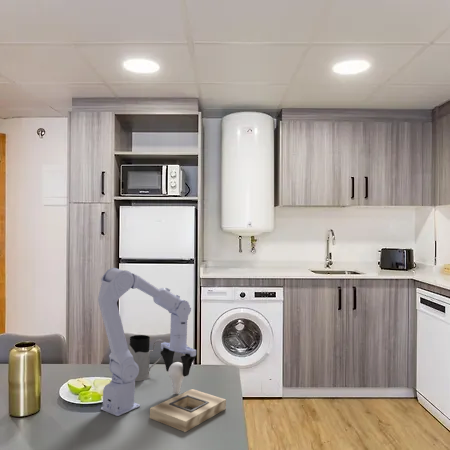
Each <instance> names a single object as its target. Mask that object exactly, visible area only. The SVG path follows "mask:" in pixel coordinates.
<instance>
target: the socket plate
mask: <svg viewBox="0 0 450 450" xmlns="http://www.w3.org/2000/svg"><path fill="white" fill-rule="evenodd" d="M226 406H227V399H225V398H223V397H220V396H215V395H213V394H210V393H207V392H203V391H200V390H197V389H193V388H192V389H188V390H187V391H185V392H183V393H179V394H177V395H176V396H173V397H172V398H169V399H167V400H165V401H163V402H161V403H158V404H156V405H154V406H152V407H150V408H149V419H150V420H153V421H156V422H158V423H161V424H164V425H166V426H168V427H172V428H174V429H175V430H176V429H177V430H179V431H182V432H184V433H186V432H188V431H190V430H192V429H194V428H195V427H197V426H198V425H200V424H202V423H204V422H205V421H207V420H209V419H211V418H212V417H214V416H216V415H218V414H219V413H221V412H223V411H225V410H226ZM187 407H188V408H187ZM189 408H192V409H189Z"/></svg>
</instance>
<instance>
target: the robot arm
mask: <svg viewBox="0 0 450 450" xmlns="http://www.w3.org/2000/svg"><path fill="white" fill-rule="evenodd" d="M100 282H101V285H100V289H99V293H98V297H97V302H98V305H99V310H100V313H101V317H102V322H103V325H104V329H105V334H106V337H107V340H108V345H109V348H110V353H109V355H108V356H109V365H108V368H109V371H110V373H111V374H112V376H111V381H110V382H109V383H107V384H106V385H105V386H104V387H103V390H102V406H101V408H100V410H102V411H104V412H106V413H108V414H111V415H113V416H116V417H119V416H122V415H124V414H126V413H128V412H130V411H133V410H135V409H137V408H140V407H141V404H139V403H136V402H135V396H136V395H135V392H136V391H135V389H136V388H135V387H136V381H135V379H136V377H137V376H138V373H139V367H138V365H137V363H135V361H134V359H133V356H132V354H131V353H130V351H129V345H128V342H127V339H126V335H125V331H124V327H123V323H122V318H121V315H120V311H119V307H118V306H119V305H118V301H119V300H120V298H121V297H122V296H123V295H125V293H127V292H128V291H129V290H130V289H136V290H139V291H140V292H143V293H145V294H146V295H149V297H152V299H153V303H154V304H156V305H158V306H159V307H161V308H163V309H164V310H166V311H168V313H169V314H170V334H169V335H170V336H169V337H170V339H169V342H166V341H164V343H163V342H161V343H160V349H161V351H160V355H162V359H163V362H164V365H165V370H166V372H167V373H168V370H169V367H170V366H171V365H172V364H173V363H174V357H175V353H178V354H184V355H182V356H180V360H181V363H182V364H183V376H184V378H185V377H188V376H189V374H190V371H191V367H192V365H193V362H194V360H195V359H196V356H197V349H194V348H192V347H190V346H188V343H187V340H188V336H187V335H188V320H189V315H190V313H191V312H192V307H191V305H190V303H189V301H187V300H184V299H182V298H180V297H181V296H180V295H179V294H174V293H172V292H171V289H170V288H167V287H165V288H164V287H160V288H157V287H156V286H154V285H153V284H151V283H150V282H149V281H147V280H146V279H144V278H143V277H141V276H140V275H138V274H135V273H132V272H131V271H130V270H123V269H119V268H117V267H110V268H109V269H107V270H106V271H105V272H104V274H103V275H102V277H101V278H100Z"/></svg>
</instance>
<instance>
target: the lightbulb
mask: <svg viewBox="0 0 450 450" xmlns="http://www.w3.org/2000/svg"><path fill="white" fill-rule="evenodd" d="M167 373H168V376H169V378H170V380H171V386H172V393H173V394H174V395H176V396H178V395H180V394H181V387H182V383H183V381H184V379H185V377H184V376H183V364H182V362H180V361H176V362H173V364H172V365H171V366H170V367H169V370H168V372H167Z"/></svg>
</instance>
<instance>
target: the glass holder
mask: <svg viewBox="0 0 450 450" xmlns="http://www.w3.org/2000/svg"><path fill="white" fill-rule="evenodd" d="M150 339H151V336H149V335H145V334H135V335H132V336H130V337H129V343H128V344H129V345H128V349H129V351H130V353H131V354H132V356H133V359H134V361H135V363H137V365H138V367H139V373H138V376H137V377H136V379H135V382H136V381H138V382H139V381H145V380H148V379H150V377H151V374H150V372H151V369H152V368H153V367H154V366H155V365H156V364H157V363H158V362H159V361H161V360H162V359H163V357H162V355H161V354H160V355H161V356H160V357H159V358H158V359H157V360H156V361H155V362H154V363H153V364H152V365H151V366H150V358H151V357H150V355H151V354H150V353H151V352H153V351H154V350H155V346H156V344H157V343H158V342H159V341H160V342H161V343H164V342H165V341H164V340H162V339H157V340H155V341H154V342H153V349H152V350H151V349H150V347H151V346H150V342H151V341H150Z"/></svg>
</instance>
